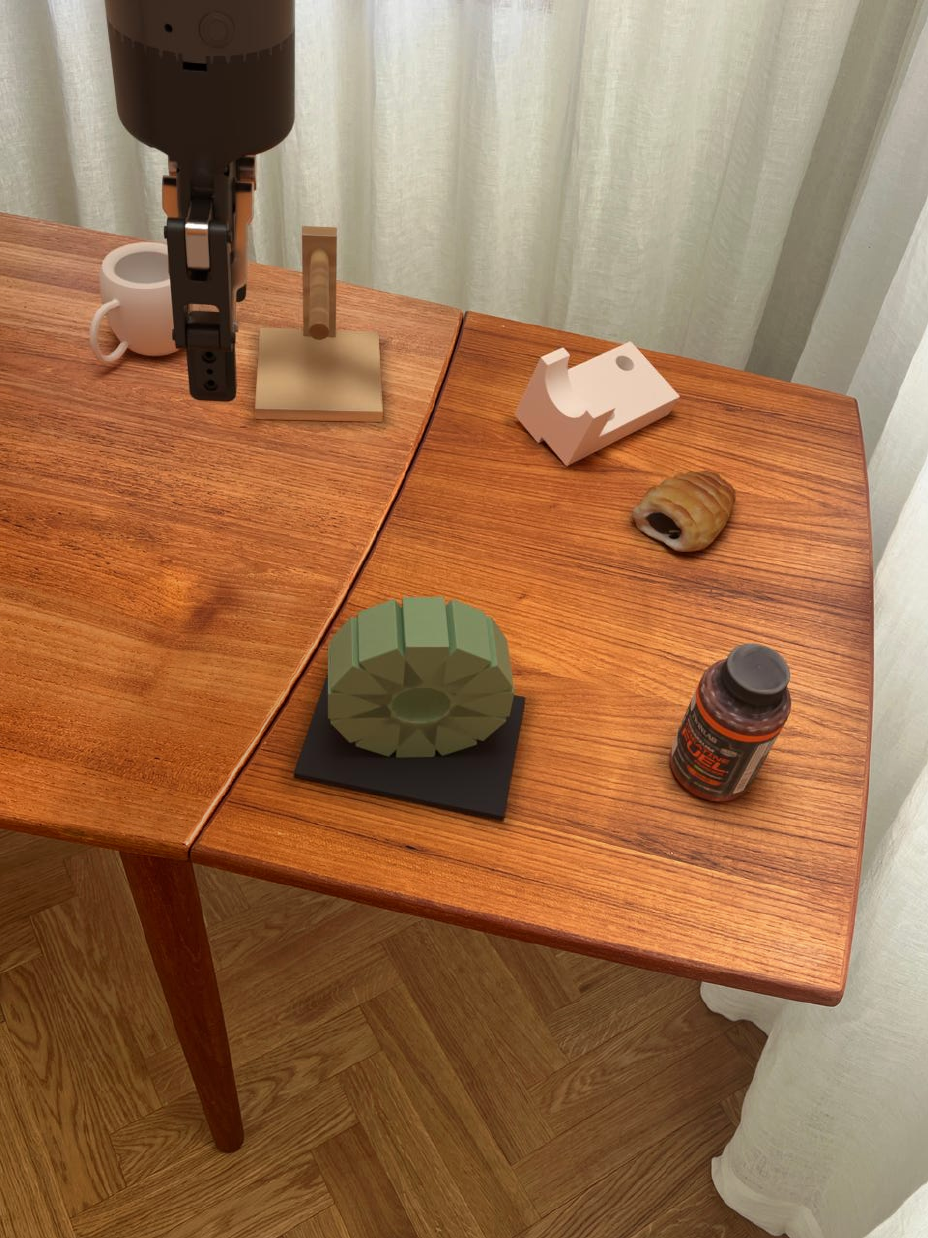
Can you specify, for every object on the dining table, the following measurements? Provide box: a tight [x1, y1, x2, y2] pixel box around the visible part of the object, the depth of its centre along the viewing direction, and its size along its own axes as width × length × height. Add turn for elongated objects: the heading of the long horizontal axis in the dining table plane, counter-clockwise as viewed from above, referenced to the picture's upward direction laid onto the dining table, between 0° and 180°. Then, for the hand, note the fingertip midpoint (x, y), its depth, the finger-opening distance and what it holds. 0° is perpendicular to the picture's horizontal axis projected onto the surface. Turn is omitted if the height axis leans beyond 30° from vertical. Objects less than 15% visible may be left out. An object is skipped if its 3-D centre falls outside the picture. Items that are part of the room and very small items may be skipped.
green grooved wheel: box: [327, 596, 515, 758], centre depth 71 cm, size 4×12×12 cm, turn 95°
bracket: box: [513, 340, 681, 467], centre depth 98 cm, size 13×7×8 cm, turn 130°
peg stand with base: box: [254, 225, 384, 423], centre depth 97 cm, size 13×11×12 cm
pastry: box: [631, 470, 737, 553], centre depth 92 cm, size 9×7×4 cm
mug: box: [88, 241, 200, 365], centre depth 99 cm, size 12×8×8 cm
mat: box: [293, 672, 526, 822], centre depth 76 cm, size 14×10×1 cm
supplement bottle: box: [669, 643, 792, 803], centre depth 72 cm, size 6×6×11 cm
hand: (220, 345), depth 57 cm, fingers open, 8 cm apart
